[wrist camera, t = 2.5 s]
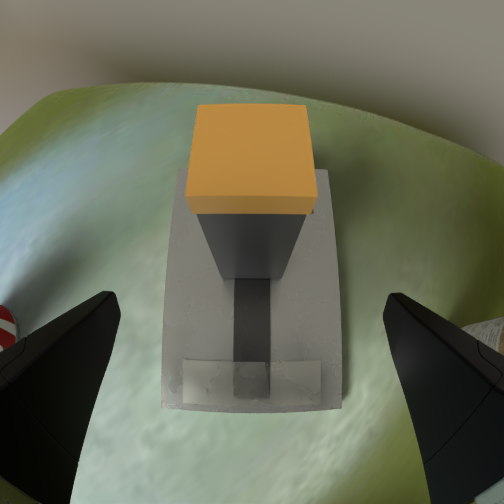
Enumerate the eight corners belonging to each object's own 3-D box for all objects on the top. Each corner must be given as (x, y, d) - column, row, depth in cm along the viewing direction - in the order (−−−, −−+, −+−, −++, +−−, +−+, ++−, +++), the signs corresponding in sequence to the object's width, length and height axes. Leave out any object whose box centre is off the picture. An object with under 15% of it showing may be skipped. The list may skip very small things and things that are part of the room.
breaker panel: (336, 405, 19) (355, 416, 15) (166, 404, 19) (147, 415, 15) (324, 177, 24) (335, 147, 20) (181, 176, 24) (170, 146, 20)
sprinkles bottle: (457, 386, 18) (585, 385, 6) (418, 377, 19) (555, 379, 6) (469, 334, 20) (593, 302, 7) (431, 321, 20) (563, 280, 8)
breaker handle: (283, 279, 20) (317, 196, 9) (220, 279, 20) (185, 196, 9) (281, 222, 21) (305, 105, 11) (222, 221, 21) (198, 105, 11)
